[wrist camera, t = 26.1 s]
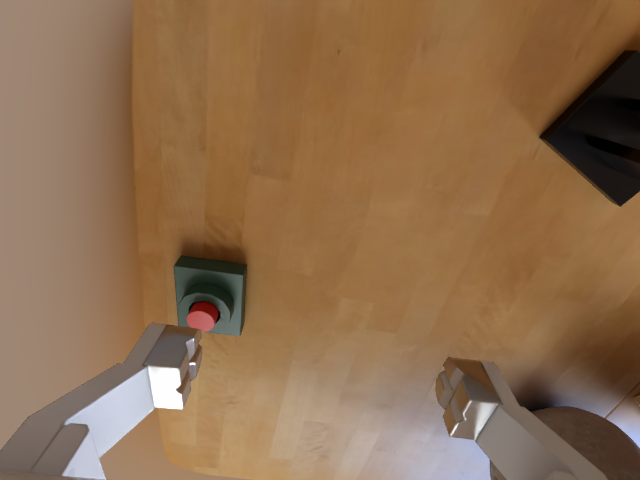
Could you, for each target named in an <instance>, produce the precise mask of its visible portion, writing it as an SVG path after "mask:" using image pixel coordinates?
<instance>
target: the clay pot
mask: <svg viewBox="0 0 640 480" xmlns="http://www.w3.org/2000/svg"><path fill="white" fill-rule="evenodd" d="M531 413H532V414H533V415H535V416H536V417H537V418H538V419H539V420H541V421H542V422H543V423H544V424H545V425H546V426H548V427H549V428H550V429H551V430H552V431H554V432H555V433H556V434H557V435H558V436H560V437H561V438H562V439H563V440H564V441H566V442H567V443H568V444H569V445H570V446H572V447H573V448H574V449H575V450H576V451H578V452H579V453H580V454H581V455H582V456H583V457H585V458H586V459H587V460H588V461H589V462H591V463H592V464H593V465H594V466H595V467H597V468H598V469H599V470H600V471H601V472H603V473H604V474H605V476H606V477H607V479H608V480H640V448H639V447H638V445H637V444H636V443H635V442H634V441H633V440H632V439H631V438H630V437H629V436H628V435H627V434H625V433H624V432H623V431H622V430H621V429H620V428H619V427H617V426H616V425H614V424H613V423H611V422H610V421H608V420H607V419H605V418H602V417H600V416H598V415H596V414H593V413H591V412H588V411H586V410H582V409H579V408H574V407H549V408H547V409H540V410H536V411H532V412H531ZM490 477H491V480H507V479H506V478H505V477H504V476H503V475H502V473H501V472H500V471H499V470H498V469H497V467H496V466H495V465H494V464H493V462H492V461H491V460H490Z"/></svg>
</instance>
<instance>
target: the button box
mask: <svg viewBox="0 0 640 480" xmlns="http://www.w3.org/2000/svg"><path fill="white" fill-rule="evenodd" d="M174 274H175V287H176V300H177V313H178V326H182V327H189V328H191V327H190V326H189V325H188V323H187V316H188V314H189V312H190V310H191V308H192V306H193V305H194V304H195V303H197V302H199V301H206V302H210V303H212V304H213V305H215V306H216V307H217V309H218V311H219V315H218V318H217V320H216V323H215V325H214V327H213V328H212V329H211V330H209V331H206V332H209V333H217V334H225V335H233V336H240V335H241V332H242V329H243V326H244V312H245V293H246V275H247V265H244V264H237V263H230V262H222V261H215V260H208V259H200V258H193V257H186V256H181V257H180V258H179V259H178V261H177V262H176V264H175V265H174Z"/></svg>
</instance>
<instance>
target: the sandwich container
mask: <svg viewBox="0 0 640 480" xmlns="http://www.w3.org/2000/svg"><path fill="white" fill-rule="evenodd" d="M633 398H634V400H635V401H636V403H637V404H638V406H639V407H640V395H638V396H635V397H633Z"/></svg>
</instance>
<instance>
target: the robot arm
mask: <svg viewBox="0 0 640 480" xmlns="http://www.w3.org/2000/svg"><path fill="white" fill-rule="evenodd" d="M201 338H202V337H201V330H200V329H196V328H189V327H182V326H175V325H166V324H159V323H151V324H150V325H149V326H148V327H147V328H146V330H145V331H144V333H143V334H142V336H141V337H140V339H139V340H138V342H137V343H136V345H135V346H134V348H133V349H132V351H131V352H130V354H129V356H128V357H127V358H126V360H125V361H124V363H123V364H120V363H118V364H116V365H114V366H113V367H111V368H109V369H108V370H106V371H104V372H103V373H101V374H99V375H98V376H96V377H94V378H93V379H91V380H89V381H87V382H86V383H84V384H82V385H81V386H79V387H77V388H76V389H74V390H72V391H71V392H69V393H67V394H66V395H64V396H62V397H61V398H59V399H57V400H56V401H54V402H52V403H51V404H49V405H47V406H46V407H44V408H42V409H41V410H39V411H37V412H36V413H34V414H32V415H30V416H29V417H28V418H27V419H26V420H25V422H23V424H22V425H21V426H20V427H19V429H18V430H17V431H16V432H15V434H14V435H13V436H12V437H11V438H10V439H9V441H8V442H7V443H6V444H5V445H4V447H3V448H2V449H1V450H0V480H106V478H105V475H104V472H103V469H102V466H101V463H100V460H99V458H100V457H101V456H102V455H103V454H105V452H107V451H108V450H109V449H110V448H111V447H112V446H113V445H115V444H116V443H117V442H118V441H119V440H120V439H121V438H122V437H124V436H125V435H126V434H127V433H128V432H129V431H130V430H131V429H132V428H134V427H135V426H136V425H137V424H138V423H139V422H140V421H141V420H142V419H144V418H145V417H146V416H147V415H148V414H149V413H150V412H151V411H153V410H154V407H156V408H169V409H183V408H184V406H185V403H186V401H187V398H188V396H189V393H190V391H191V382H190V381H192V380H193V379H194V378H196V376H197V373H198V371H199V368H200V364H201V359H202V347H201V346H200V345H199V342H200V340H201ZM443 366H444V369H445V370H444V371H443V372H441V373H440V374H439V375H438V377H437V380H436V387H435V390H436V397H437V400H438V403H439V404H440V405H441V406H442V407H443V408H444V409H445V412H444V414H443V419H444V422H445V425H446V428H447V431H448V434H449V437H457V438H465V439H472V440H476V441H475V442H476V443H477V444H478V445H479V447H480V448H481V449H482V450H483V451H484V453H485V454H486V455H487V456H488V458H489V459H490V460H491V461H492V462H493V464H494V465H495V466H496V467H497V469H498V470H499V471H500V472H501V473H502V475H503V476H504V477H505V478H506V479H507V480H608V479H607V477H606V476H605V474H604V473H603V472H601V471H600V470H599V469H598V468H597V467H595V466H594V465H593V464H592V463H591V462H589V461H588V460H587V459H586V458H585V457H583V456H582V455H581V454H580V453H579V452H578V451H576V450H575V449H574V448H573V447H572V446H570V445H569V444H568V443H567V442H566V441H564V440H563V439H562V438H561V437H560V436H558V435H557V434H556V433H555V432H554V431H552V430H551V429H550V428H549V427H548V426H546V425H545V424H544V423H543V422H542V421H541V420H539V419H538V418H537V417H536V416H535V415H533V414H532V413H531V412H530V411H529V410H527V409H526V408H525V407H520V406H519V404H518V402H517V400H516V398H515V397H514V395H513V393H512V391H511V389H510V388H509V386H508V384H507V382H506V380H505V379H504V377H503V375H502V373H501V372H500V370H499V368H498V366H497V365H496V364H495V363H494V362H489V361H479V360H478V361H477V360H470V359H461V358H451V357H449V358H447V359H446V360H445V362H444V364H443Z"/></svg>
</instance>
